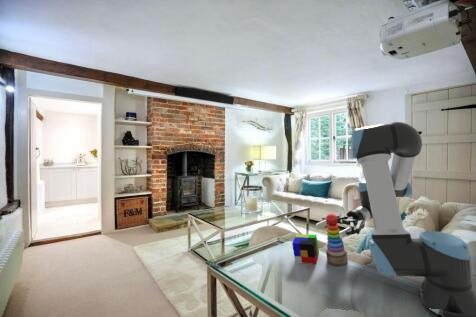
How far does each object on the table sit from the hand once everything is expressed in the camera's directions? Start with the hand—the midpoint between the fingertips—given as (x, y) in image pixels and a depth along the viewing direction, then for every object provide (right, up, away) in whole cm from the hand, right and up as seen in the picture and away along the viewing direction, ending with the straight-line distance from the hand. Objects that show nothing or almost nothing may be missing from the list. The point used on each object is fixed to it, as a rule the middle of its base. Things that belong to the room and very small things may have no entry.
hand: (327, 230), depth 108 cm
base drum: (+6, -15, +3) cm, 16 cm away
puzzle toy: (-6, -17, +10) cm, 21 cm away
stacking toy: (+5, -11, +3) cm, 13 cm away
